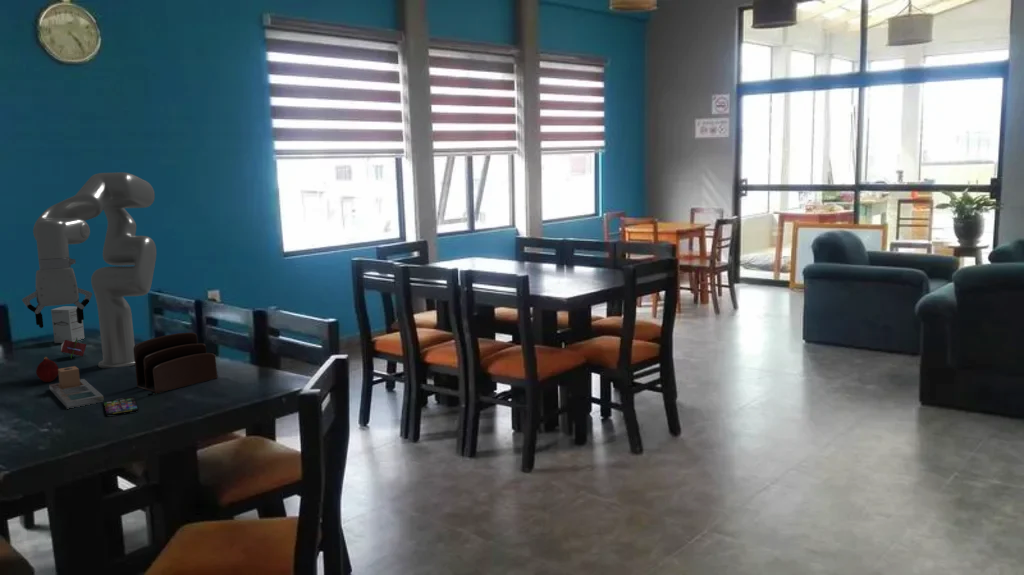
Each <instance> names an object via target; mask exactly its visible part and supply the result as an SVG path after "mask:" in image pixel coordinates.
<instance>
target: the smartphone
mask: <svg viewBox="0 0 1024 575" xmlns="http://www.w3.org/2000/svg"><path fill="white" fill-rule="evenodd" d="M103 402H104V403H103V406H105V407H104V411H106V413H105V416H106V415H117V414H124V413H130V412H136V411H138V410H139V409H140V407H139V406H138V403H137V399H136V398H135V396H127V397H121V398H117V399H111V400H104V401H103ZM139 411H140V410H139ZM139 411H138V412H139ZM136 413H137V412H136ZM124 415H125V414H124Z"/></svg>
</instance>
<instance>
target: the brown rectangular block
mask: <svg viewBox="0 0 1024 575" xmlns="http://www.w3.org/2000/svg"><path fill="white" fill-rule="evenodd" d="M80 379H81V378H80V369H79V368H78V367H77V366H76V365H73V366H68V367H61V368H59V369H58V383H59V384H60V389H63V388H68V387H74V386H80Z"/></svg>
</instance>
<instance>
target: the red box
mask: <svg viewBox="0 0 1024 575" xmlns="http://www.w3.org/2000/svg"><path fill="white" fill-rule="evenodd" d="M77 341H78V339H77V337H76V341H75V342H73V340H72V341H68V340H65V341H64V342H63V343H61V344H60V352H61V353H63V354H64V355H66V356H67V357H69V358H70V359H73V358H76V356H78V357H81V356H82V357H84V354H85V350H86V348H87V346H88V344H87V343H83V342H80V341H78V342H77ZM73 355H74V357H72V356H73Z"/></svg>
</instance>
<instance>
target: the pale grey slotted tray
mask: <svg viewBox="0 0 1024 575" xmlns="http://www.w3.org/2000/svg"><path fill="white" fill-rule="evenodd" d="M49 390H50V391H51V393H52V394H53V395H54V396H55V397H56V398H57V399H58V400H59V401H60V402H61V403H62V404H63V406H64V407H65V409H66V410H67V409H69V408H74V407H80V406H85V405H90V404H96V403H102V402H104V401H105V399H104V395H103V394H102V393H101V392H100V391H99V390H97V388H95V387H94V386H93V385H92V384H90V383H89V382H88V381H87V380H86V379H85V378H80V386H74V387H68V388H63V389H60V384H59V382H55V383H52V384H49ZM102 404H103V403H102ZM96 405H97V404H96ZM80 408H81V407H80Z"/></svg>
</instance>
